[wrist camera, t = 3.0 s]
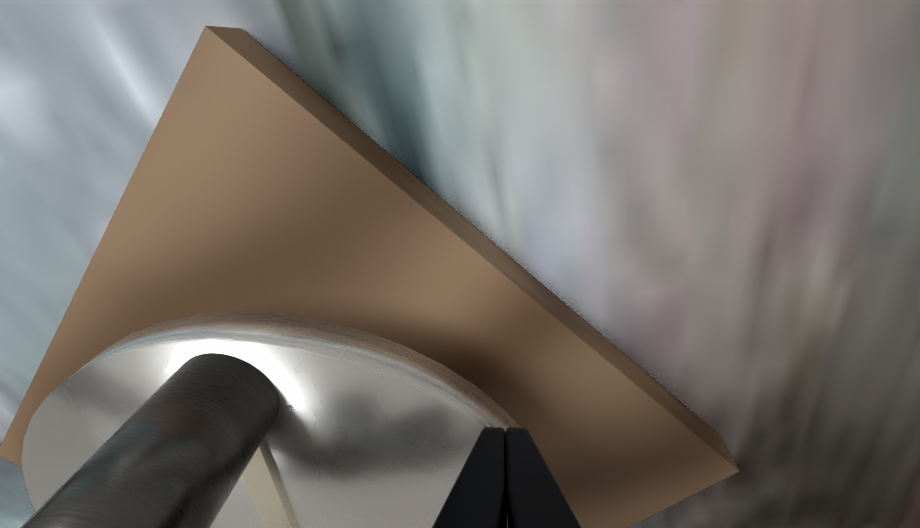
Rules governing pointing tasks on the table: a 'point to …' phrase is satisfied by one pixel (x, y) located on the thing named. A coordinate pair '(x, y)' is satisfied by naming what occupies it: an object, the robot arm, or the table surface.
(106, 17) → the table surface
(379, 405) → the handwheel
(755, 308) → the table surface
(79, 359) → the base plate
